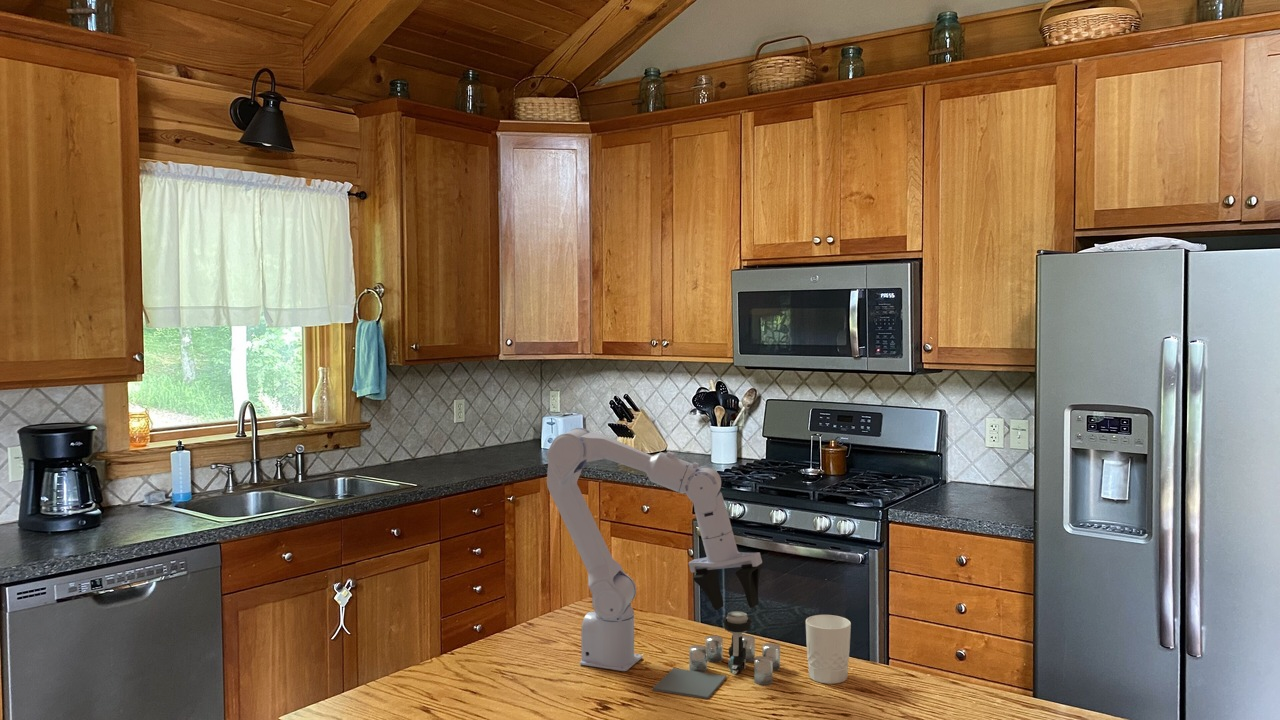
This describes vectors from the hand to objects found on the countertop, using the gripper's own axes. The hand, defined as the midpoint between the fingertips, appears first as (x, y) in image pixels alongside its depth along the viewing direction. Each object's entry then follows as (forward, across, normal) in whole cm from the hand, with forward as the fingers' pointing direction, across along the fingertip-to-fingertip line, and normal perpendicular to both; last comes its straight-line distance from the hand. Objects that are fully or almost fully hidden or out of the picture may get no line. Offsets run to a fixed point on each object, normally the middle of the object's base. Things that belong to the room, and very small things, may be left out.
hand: (736, 607), depth 171 cm
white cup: (+16, -11, -6) cm, 20 cm away
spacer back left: (+10, +9, -2) cm, 14 cm away
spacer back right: (+13, -1, -4) cm, 14 cm away
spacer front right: (+13, -3, +3) cm, 13 cm away
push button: (+12, +3, +1) cm, 12 cm away
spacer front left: (+10, +9, +4) cm, 14 cm away
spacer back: (+12, +5, -5) cm, 14 cm away
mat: (+10, +6, +11) cm, 16 cm away
